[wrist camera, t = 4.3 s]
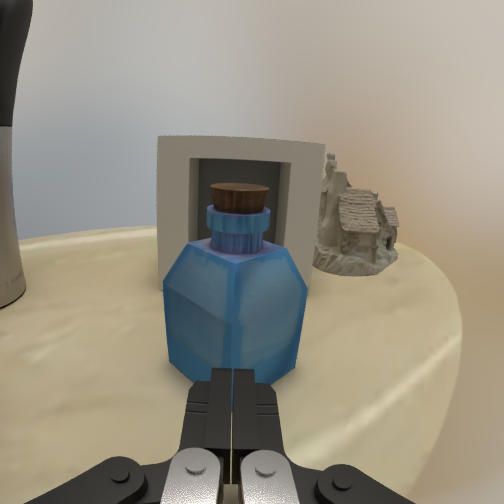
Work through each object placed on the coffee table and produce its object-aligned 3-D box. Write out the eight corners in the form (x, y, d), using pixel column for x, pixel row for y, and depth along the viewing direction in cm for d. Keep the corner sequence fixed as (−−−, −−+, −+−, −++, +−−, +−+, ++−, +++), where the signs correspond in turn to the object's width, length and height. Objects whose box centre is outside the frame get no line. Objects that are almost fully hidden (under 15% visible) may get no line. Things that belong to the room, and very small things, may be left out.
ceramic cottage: (306, 272, 37) (327, 146, 33) (298, 239, 53) (312, 151, 48) (419, 287, 36) (444, 174, 32) (382, 252, 52) (399, 169, 48)
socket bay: (159, 290, 30) (157, 135, 25) (176, 258, 39) (177, 138, 34) (308, 296, 31) (325, 144, 26) (293, 264, 40) (305, 144, 35)
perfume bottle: (229, 412, 16) (237, 199, 12) (169, 361, 20) (160, 184, 16) (294, 367, 21) (319, 192, 17) (233, 331, 24) (240, 178, 21)
